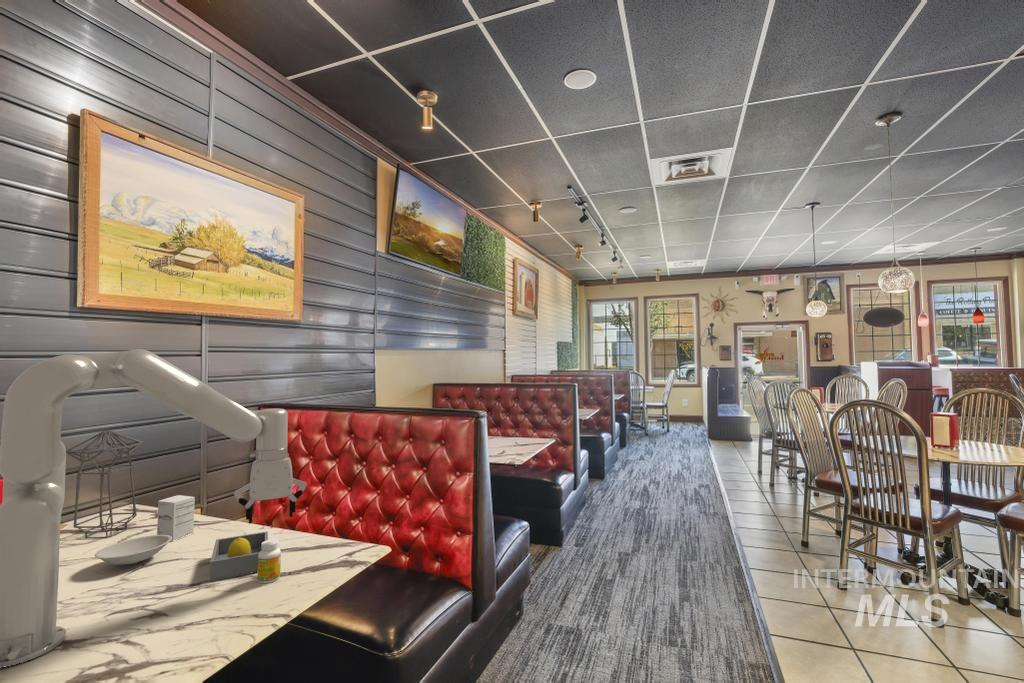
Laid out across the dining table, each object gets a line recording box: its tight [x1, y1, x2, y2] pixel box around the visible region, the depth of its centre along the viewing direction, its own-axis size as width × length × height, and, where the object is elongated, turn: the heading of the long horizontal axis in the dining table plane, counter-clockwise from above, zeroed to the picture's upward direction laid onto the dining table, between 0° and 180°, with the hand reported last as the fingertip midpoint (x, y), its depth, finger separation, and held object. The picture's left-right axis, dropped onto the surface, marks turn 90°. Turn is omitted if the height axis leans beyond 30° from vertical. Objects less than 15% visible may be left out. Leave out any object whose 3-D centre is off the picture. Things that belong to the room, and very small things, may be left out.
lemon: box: [228, 537, 251, 558], centre depth 127 cm, size 6×6×8 cm
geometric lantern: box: [66, 429, 145, 539], centre depth 155 cm, size 16×16×35 cm
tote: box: [209, 531, 269, 582], centre depth 131 cm, size 18×14×5 cm
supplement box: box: [156, 494, 196, 542], centre depth 152 cm, size 7×7×13 cm
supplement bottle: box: [257, 539, 282, 584], centre depth 122 cm, size 5×5×10 cm
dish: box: [94, 534, 172, 566], centre depth 131 cm, size 18×14×5 cm
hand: (271, 518), depth 122 cm, fingers open, 9 cm apart
